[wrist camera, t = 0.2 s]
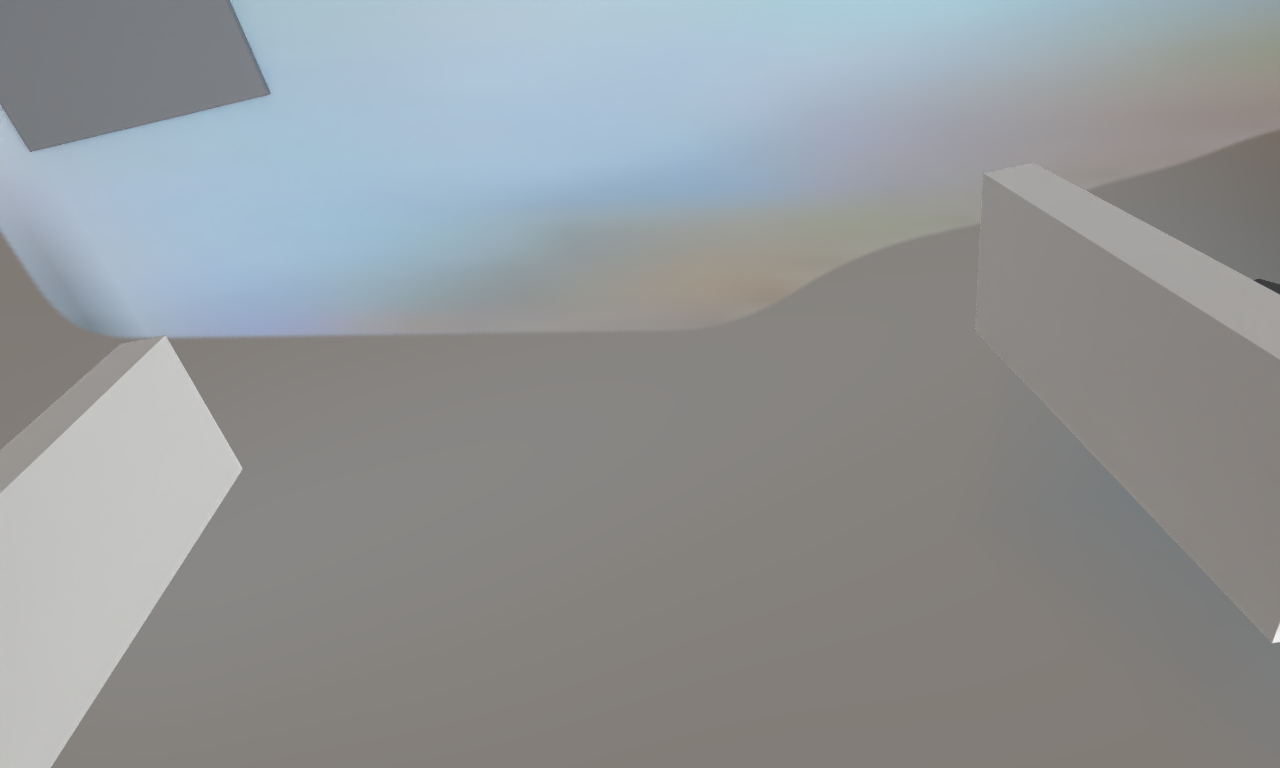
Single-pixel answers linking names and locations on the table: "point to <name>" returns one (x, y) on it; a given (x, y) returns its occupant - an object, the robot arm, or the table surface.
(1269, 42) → the table surface
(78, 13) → the rubber mat
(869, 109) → the table surface
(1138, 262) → the robot arm
